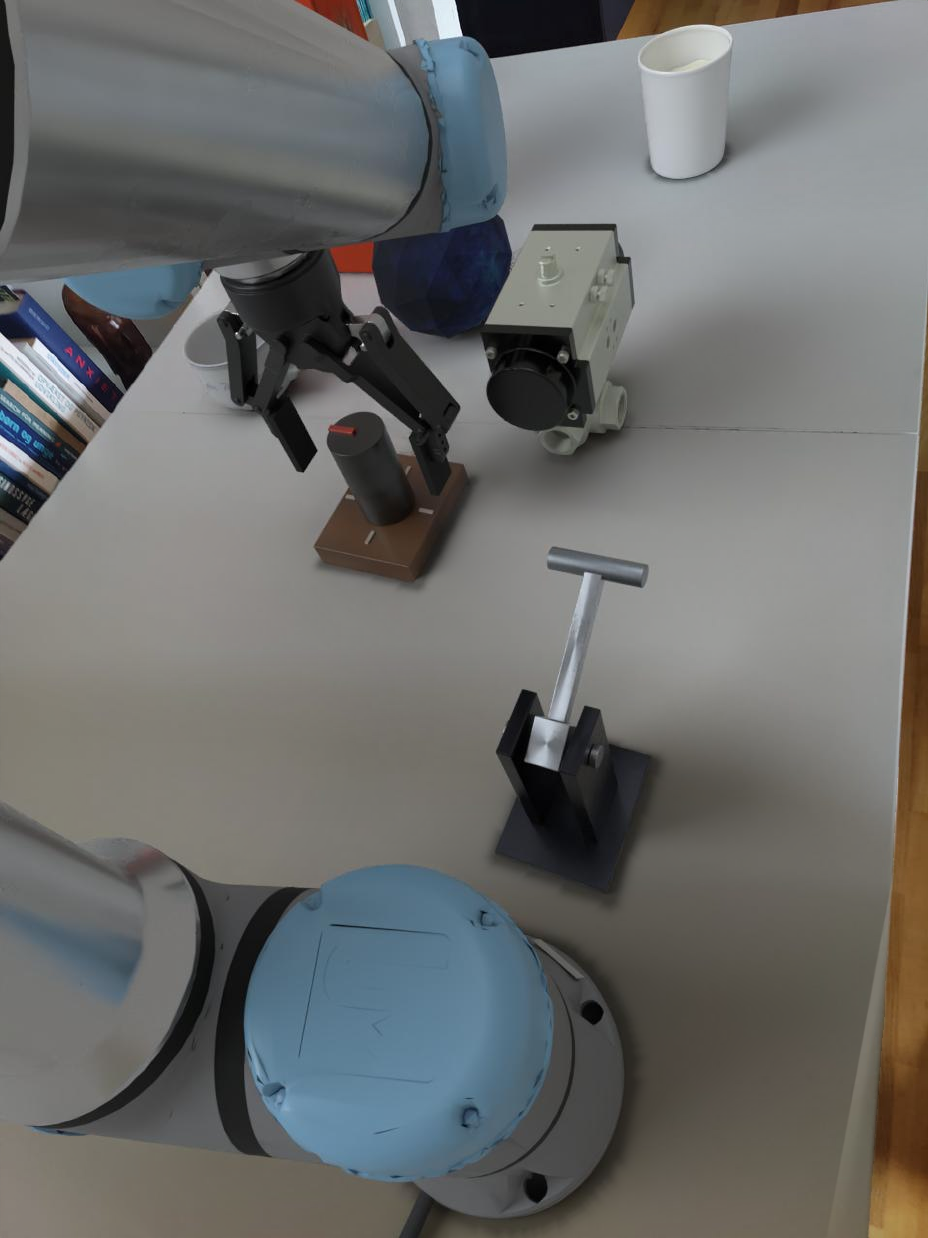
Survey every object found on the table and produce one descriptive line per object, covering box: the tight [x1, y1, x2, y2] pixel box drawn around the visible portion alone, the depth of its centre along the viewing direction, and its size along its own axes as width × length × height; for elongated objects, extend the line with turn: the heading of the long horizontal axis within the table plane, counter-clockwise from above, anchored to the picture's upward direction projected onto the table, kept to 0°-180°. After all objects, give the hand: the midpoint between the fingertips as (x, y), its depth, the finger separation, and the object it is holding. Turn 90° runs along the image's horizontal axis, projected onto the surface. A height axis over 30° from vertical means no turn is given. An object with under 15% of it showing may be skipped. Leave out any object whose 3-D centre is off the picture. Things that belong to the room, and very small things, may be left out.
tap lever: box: [524, 546, 650, 772], centre depth 51 cm, size 13×6×2 cm, turn 157°
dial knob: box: [326, 411, 415, 526], centre depth 73 cm, size 5×5×9 cm
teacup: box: [181, 307, 302, 411], centre depth 91 cm, size 14×11×8 cm
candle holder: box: [637, 24, 734, 180], centre depth 95 cm, size 10×10×12 cm
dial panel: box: [312, 453, 470, 584], centre depth 78 cm, size 12×10×3 cm
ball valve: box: [479, 223, 636, 456], centre depth 73 cm, size 18×8×18 cm, turn 159°
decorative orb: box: [372, 213, 513, 339], centre depth 88 cm, size 14×15×15 cm
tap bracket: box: [494, 688, 653, 895], centre depth 55 cm, size 10×8×13 cm
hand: (372, 472), depth 73 cm, fingers open, 13 cm apart
